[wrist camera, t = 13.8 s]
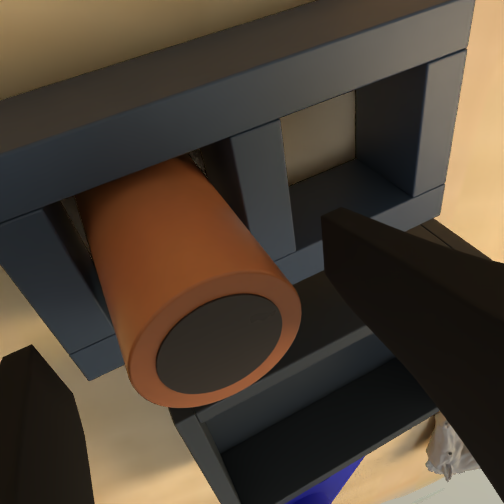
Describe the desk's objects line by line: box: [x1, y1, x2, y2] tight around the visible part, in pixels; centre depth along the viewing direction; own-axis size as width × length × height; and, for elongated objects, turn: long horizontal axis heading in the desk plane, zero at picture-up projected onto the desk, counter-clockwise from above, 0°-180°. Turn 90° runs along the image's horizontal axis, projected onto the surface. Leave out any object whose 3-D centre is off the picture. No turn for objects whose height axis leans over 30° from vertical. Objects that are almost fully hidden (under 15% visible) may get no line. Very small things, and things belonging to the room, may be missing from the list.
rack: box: [0, 0, 475, 381], centre depth 14 cm, size 8×14×4 cm, turn 97°
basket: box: [168, 218, 491, 504], centre depth 23 cm, size 15×13×5 cm
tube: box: [74, 153, 302, 408], centre depth 12 cm, size 4×4×8 cm
